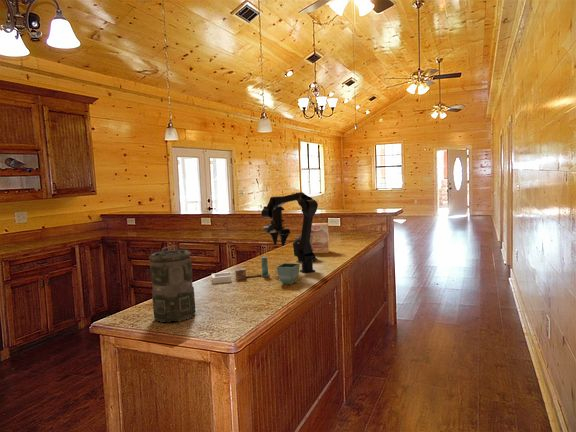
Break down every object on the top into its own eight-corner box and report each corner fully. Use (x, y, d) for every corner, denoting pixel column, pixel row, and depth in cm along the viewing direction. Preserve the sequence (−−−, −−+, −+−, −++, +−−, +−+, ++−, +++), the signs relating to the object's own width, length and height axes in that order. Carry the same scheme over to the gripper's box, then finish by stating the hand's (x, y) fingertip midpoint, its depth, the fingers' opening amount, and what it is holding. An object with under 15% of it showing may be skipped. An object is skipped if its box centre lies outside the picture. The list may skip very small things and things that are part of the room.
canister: (174, 326, 156) (167, 250, 154) (145, 320, 165) (138, 249, 162) (204, 313, 170) (198, 243, 167) (176, 308, 178) (170, 242, 175)
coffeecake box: (306, 253, 285) (304, 224, 284) (307, 251, 292) (306, 223, 291) (328, 252, 283) (327, 223, 281) (329, 251, 290) (328, 222, 288)
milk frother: (304, 256, 275) (303, 233, 274) (325, 258, 266) (324, 234, 264) (291, 260, 264) (290, 237, 263) (313, 262, 254) (311, 238, 253)
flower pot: (300, 281, 211) (299, 263, 211) (293, 285, 203) (292, 267, 203) (284, 280, 215) (283, 263, 214) (277, 285, 207) (276, 266, 206)
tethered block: (268, 274, 231) (267, 256, 230) (270, 276, 226) (269, 257, 225) (235, 278, 227) (234, 259, 226) (236, 280, 222) (235, 261, 221)
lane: (230, 277, 229) (229, 271, 229) (231, 281, 219) (231, 275, 219) (212, 279, 227) (211, 273, 227) (212, 283, 217) (212, 277, 217)
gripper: (257, 218, 248) (259, 245, 249) (272, 220, 232) (274, 249, 233) (274, 216, 253) (276, 242, 255) (290, 218, 237) (291, 246, 239)
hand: (278, 245), depth 245 cm, fingers open, 9 cm apart
